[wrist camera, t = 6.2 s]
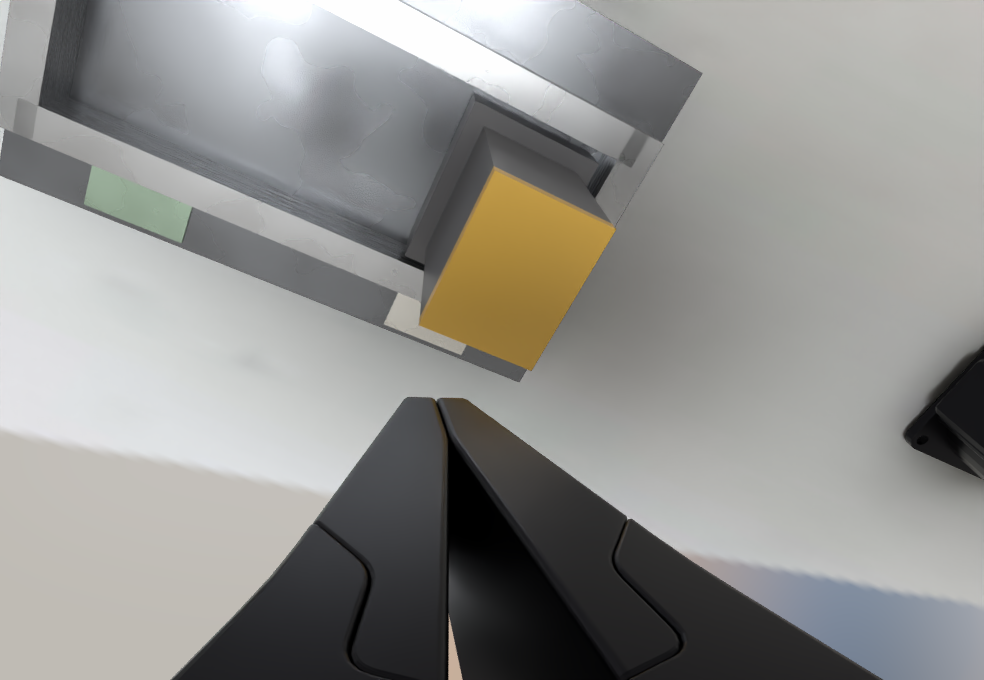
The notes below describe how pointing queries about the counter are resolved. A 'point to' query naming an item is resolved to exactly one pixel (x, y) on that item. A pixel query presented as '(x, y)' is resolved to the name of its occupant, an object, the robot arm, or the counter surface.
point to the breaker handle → (506, 234)
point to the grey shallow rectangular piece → (314, 124)
